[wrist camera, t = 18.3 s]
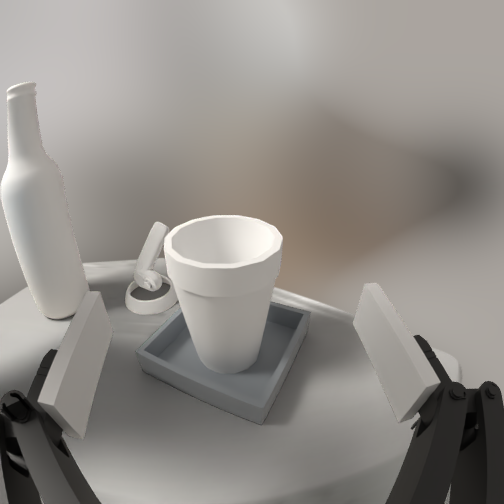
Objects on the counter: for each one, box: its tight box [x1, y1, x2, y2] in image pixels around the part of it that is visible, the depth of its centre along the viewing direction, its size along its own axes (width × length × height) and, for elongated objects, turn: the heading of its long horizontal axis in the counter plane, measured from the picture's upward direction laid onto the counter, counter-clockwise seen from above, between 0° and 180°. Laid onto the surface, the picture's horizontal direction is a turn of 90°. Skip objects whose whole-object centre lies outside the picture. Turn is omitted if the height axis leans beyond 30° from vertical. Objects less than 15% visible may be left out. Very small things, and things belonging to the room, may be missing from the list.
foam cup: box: [164, 215, 283, 374], centre depth 26 cm, size 10×9×13 cm
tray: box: [135, 301, 311, 425], centre depth 29 cm, size 13×13×3 cm
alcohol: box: [1, 82, 90, 319], centre depth 28 cm, size 9×9×30 cm
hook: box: [125, 222, 178, 315], centre depth 38 cm, size 8×12×7 cm
